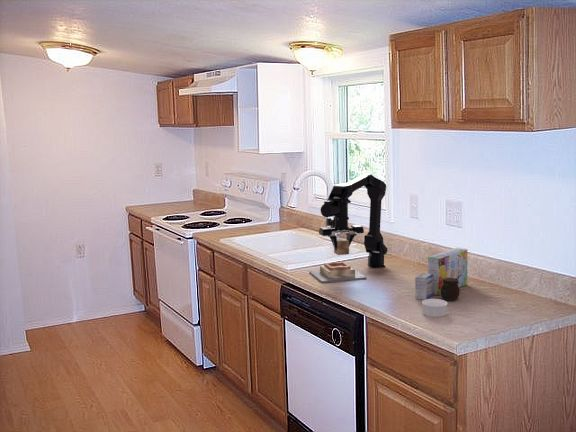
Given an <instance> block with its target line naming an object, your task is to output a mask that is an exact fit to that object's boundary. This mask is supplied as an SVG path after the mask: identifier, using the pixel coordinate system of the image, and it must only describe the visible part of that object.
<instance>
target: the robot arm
mask: <svg viewBox="0 0 576 432" xmlns="http://www.w3.org/2000/svg"><path fill="white" fill-rule="evenodd" d="M363 187H364V188H365V189H366V193H367V196H368V197H369V203H370V204H369V224H368V225H369V228H368V232H367V234H365V235H364V236H363V237H364V239H363V245H364V248H365V252H366V253H368V256H367V266H368V267H370V268H373V269H374V268H375V269H376V268H385V267H386V265H385V255H386V254H388V249H389V248H388V247H387V246H386V245H385V243H384V237H383V234H382V233H381V219H382V200H383V198H384V197H385V196H386V190H387V184H386V183H385V182H384V180H381V179H379V178H378V177H375V175H373V174H371V173H363V174H361V175H359V176H357V177H356V178H354V179H352V180H350V181H348V182H345V183H338V184H334V185H333V186H332V189H331V190H330V193H329V196H328V198H327V199H326V200H324V203H323V204H322V205H321V207H320V214H321V215H322V217H324V218H326V220H325V221H326V226H323V227H319V229H318V235H320V236H322V237H329V238H330V241H331V243H332V246H333V250H334V249H335V251H336V250H337V239H338V237H337V236H338V235H336V234H337V233H339V234H340V233H345V235H346V239H347V240H349V247H350V246H351V245H352V242H353V240H354V238H355V237H356V236H357V234H364V233H365V230H364V227H363V226H362V225H359V224H354V225H353V224H352V225H350V226H349V220H350V217H349V204H351V202H352V201H351V200H350V199H349V198H350V197H352V195H353V194H354V192H355V191H357V190H359V189H361V188H363ZM331 217H333V219H332V218H331Z"/></svg>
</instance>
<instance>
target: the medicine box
mask: <svg viewBox="0 0 576 432" xmlns="http://www.w3.org/2000/svg"><path fill="white" fill-rule="evenodd" d="M414 279H415V281H414V292H415V294H414V298H415V299H416V300H422V301H423V300H426V299H430V298H431V297H432V296H433V295H434V294H433V274H430V273H428V272H422V273H420V274H419V275H417V276H415V277H414Z"/></svg>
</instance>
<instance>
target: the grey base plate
mask: <svg viewBox="0 0 576 432" xmlns="http://www.w3.org/2000/svg"><path fill="white" fill-rule="evenodd" d="M308 274H310V275H311V276H312V277H314V278H315V279H316V280H317V281H319V282H320V283H321V284H324V283H325V284H326V283H336V282H339V283H340V282H348V281H360V280H366V279H367V276H365V275H364V274H362V273H361V272H360V271H357V270H356V269H355V276H353V277H342V278H330V279H328V278H327V277H326V276H325V275H323V274H322V273H321V272H320V269H319V270H310V271H309V273H308Z"/></svg>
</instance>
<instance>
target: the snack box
mask: <svg viewBox="0 0 576 432" xmlns="http://www.w3.org/2000/svg"><path fill="white" fill-rule="evenodd" d="M427 266H428V267H427V270H428V271H427V273H430V274H433V295H435V296H441V292H440V290H441V287H442V285H443V279H444V278H447V277H451V278H457V277H458V276H460V274H462V275H461V276H460V277H459V278H458V287H459V289H460V288H462V287H464V286H467V285H468V248H462V247H461V248H459V247H455V248H452V249H449V250H445V251H442V252H440V253H436V254H434V255H430V256H428V257H427Z"/></svg>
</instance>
